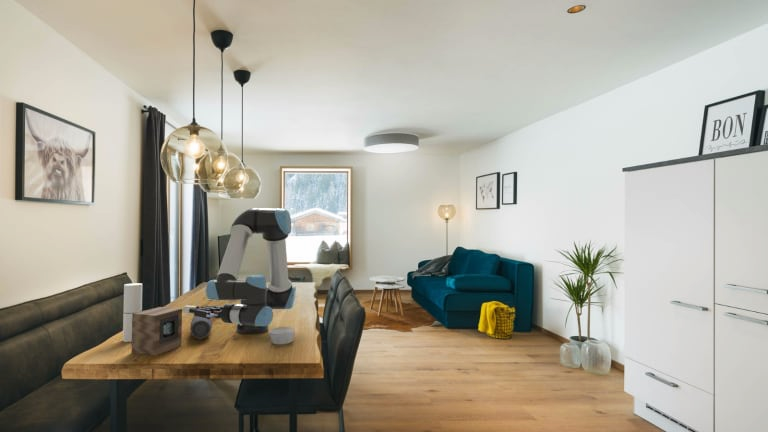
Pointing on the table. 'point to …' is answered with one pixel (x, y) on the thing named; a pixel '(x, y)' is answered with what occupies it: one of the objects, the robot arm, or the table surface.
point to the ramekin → (281, 335)
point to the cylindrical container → (131, 307)
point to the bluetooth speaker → (200, 327)
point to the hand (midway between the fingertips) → (185, 309)
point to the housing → (156, 330)
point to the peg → (168, 328)
